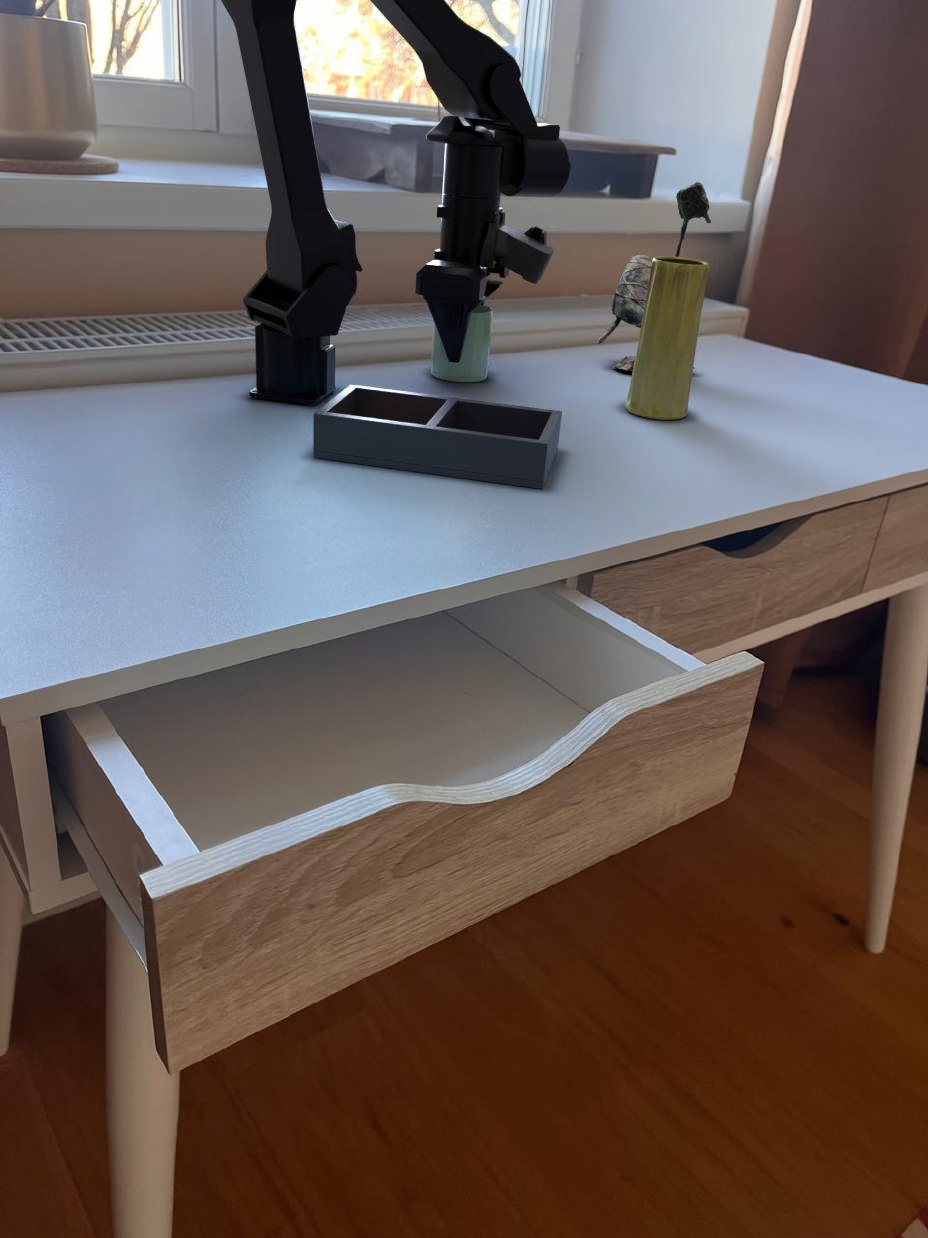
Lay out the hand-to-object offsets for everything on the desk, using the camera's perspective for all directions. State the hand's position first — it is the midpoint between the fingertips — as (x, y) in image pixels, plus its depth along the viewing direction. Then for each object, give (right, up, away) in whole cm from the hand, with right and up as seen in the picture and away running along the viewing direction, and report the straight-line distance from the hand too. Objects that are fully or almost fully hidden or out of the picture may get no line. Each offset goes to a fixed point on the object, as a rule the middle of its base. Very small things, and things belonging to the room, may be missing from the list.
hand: (460, 355), depth 105 cm
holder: (-2, -14, -23) cm, 27 cm away
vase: (+19, -7, -6) cm, 22 cm away
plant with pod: (+21, +1, +10) cm, 23 cm away
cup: (0, -2, +1) cm, 2 cm away
